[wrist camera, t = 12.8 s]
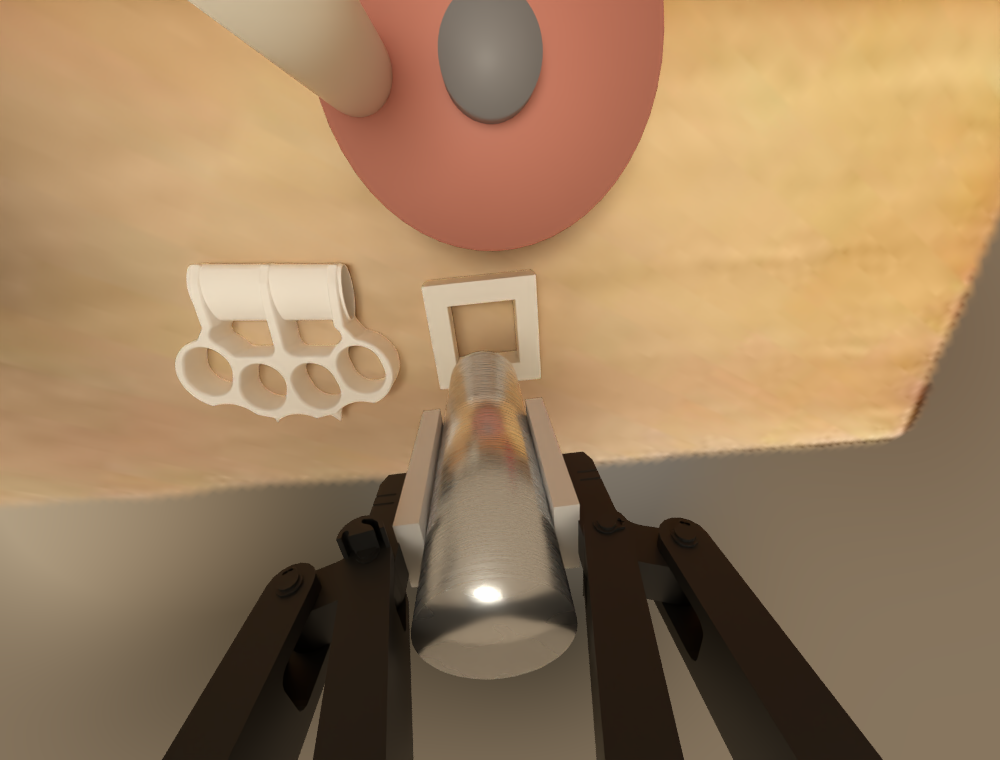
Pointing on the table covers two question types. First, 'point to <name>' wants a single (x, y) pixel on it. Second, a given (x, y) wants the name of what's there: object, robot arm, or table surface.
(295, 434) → the table surface
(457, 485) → the steel pin
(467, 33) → the handwheel
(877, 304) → the table surface
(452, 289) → the eye block
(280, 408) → the knuckle duster
